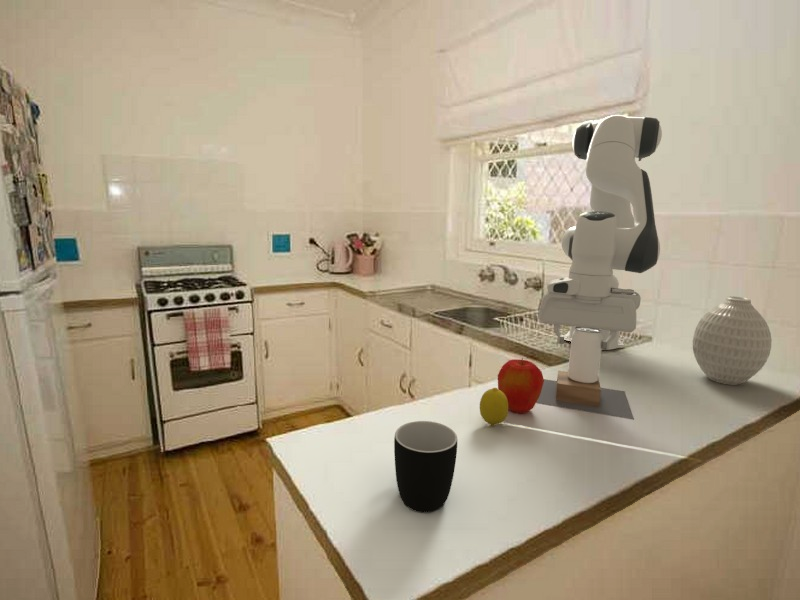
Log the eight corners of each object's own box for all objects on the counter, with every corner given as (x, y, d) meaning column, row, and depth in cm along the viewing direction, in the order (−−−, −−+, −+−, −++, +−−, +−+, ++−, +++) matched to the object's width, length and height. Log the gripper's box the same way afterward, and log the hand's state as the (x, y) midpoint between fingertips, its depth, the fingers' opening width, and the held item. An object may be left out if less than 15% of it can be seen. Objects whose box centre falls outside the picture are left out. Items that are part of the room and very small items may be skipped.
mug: (466, 508, 62) (470, 443, 60) (410, 527, 58) (413, 458, 56) (423, 465, 72) (426, 408, 70) (374, 478, 68) (375, 418, 66)
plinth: (556, 385, 107) (558, 370, 106) (596, 392, 104) (598, 376, 103) (555, 399, 99) (557, 383, 98) (598, 407, 96) (601, 390, 95)
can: (602, 385, 98) (608, 333, 95) (573, 383, 98) (578, 332, 96) (590, 374, 104) (596, 326, 102) (563, 373, 104) (568, 325, 102)
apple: (487, 409, 94) (491, 356, 92) (511, 398, 100) (515, 348, 98) (525, 425, 87) (530, 368, 85) (548, 412, 93) (553, 359, 91)
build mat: (530, 378, 112) (530, 377, 112) (624, 392, 105) (624, 391, 105) (524, 402, 98) (524, 400, 98) (633, 421, 90) (634, 419, 90)
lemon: (475, 428, 85) (478, 390, 83) (481, 417, 90) (484, 380, 89) (504, 434, 83) (507, 395, 82) (508, 422, 88) (511, 385, 87)
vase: (745, 397, 104) (762, 306, 100) (675, 375, 118) (688, 294, 114) (774, 385, 113) (791, 301, 108) (705, 366, 126) (718, 290, 122)
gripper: (639, 288, 96) (631, 348, 98) (542, 280, 103) (537, 336, 105) (644, 292, 90) (635, 356, 93) (540, 284, 97) (535, 343, 100)
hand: (582, 345), depth 99 cm, fingers open, 8 cm apart
